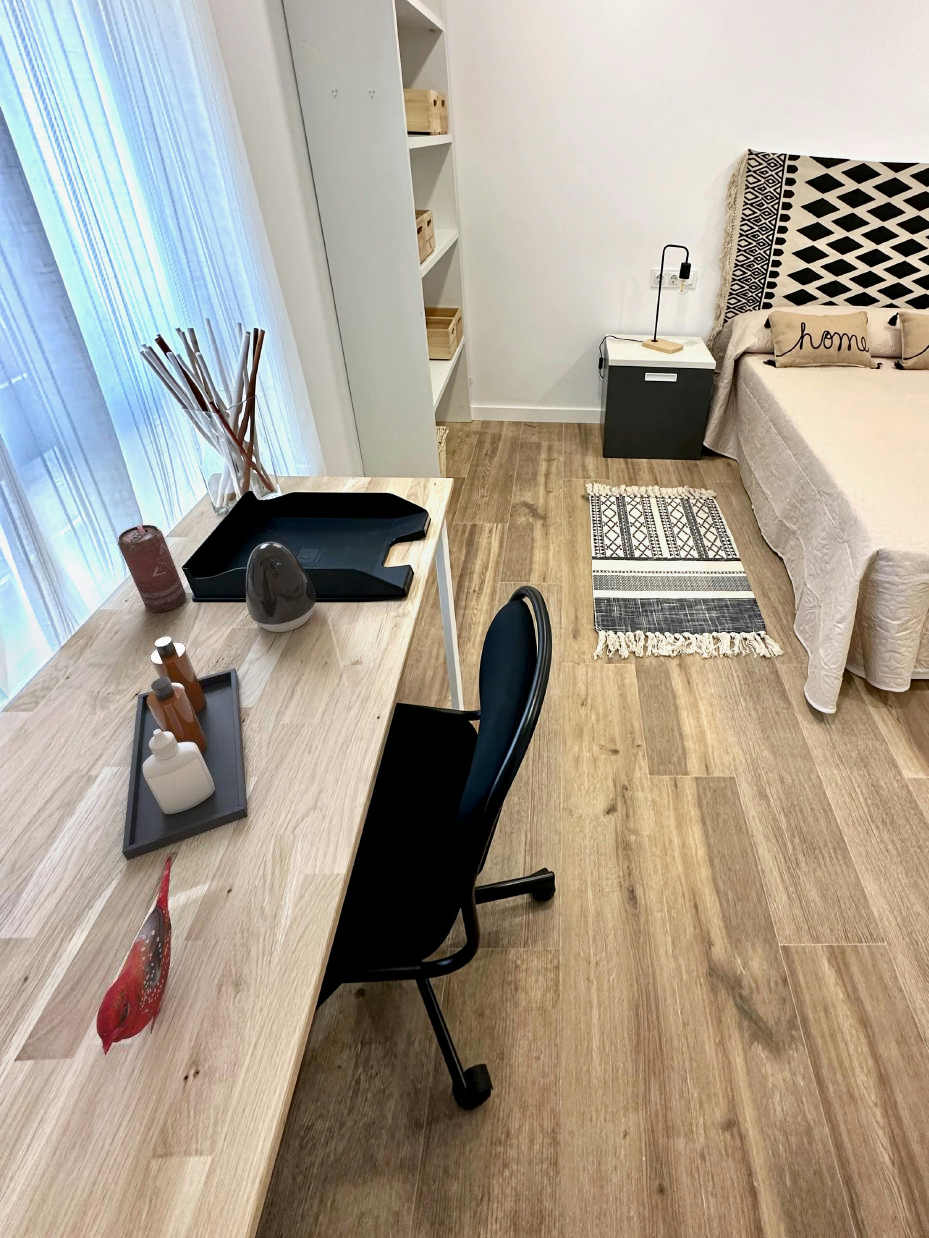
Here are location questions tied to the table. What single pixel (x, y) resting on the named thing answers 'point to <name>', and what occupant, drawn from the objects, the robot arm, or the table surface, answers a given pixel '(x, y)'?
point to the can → (152, 568)
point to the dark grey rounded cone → (278, 588)
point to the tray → (221, 757)
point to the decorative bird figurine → (140, 977)
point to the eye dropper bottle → (176, 773)
